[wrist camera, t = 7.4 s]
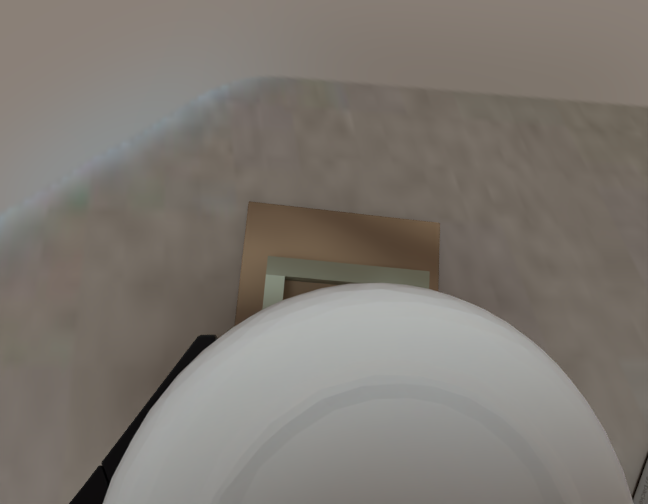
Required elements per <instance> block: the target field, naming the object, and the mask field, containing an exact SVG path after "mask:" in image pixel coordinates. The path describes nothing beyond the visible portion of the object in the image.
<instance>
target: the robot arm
mask: <svg viewBox="0 0 648 504" xmlns="http://www.w3.org/2000/svg"><path fill="white" fill-rule="evenodd" d="M216 340H217V336H216V335H200V336H198V337H197V338H196V340H195V341H194V342H193V344H192V345H191V346H190V348H189V349H188V350H187V351H186V353H185V354H184V355H183V357H182V358H181V359H180V361H179V362H178V363H177V364H176V366H175V367H174V368H173V370H172V371H171V372H170V374H169V375H168V376H167V378H166V379H165V380H164V381H163V383H162V384H161V385H160V387H159V388H158V389H157V391H156V392H155V393H154V395H153V396H152V397H151V398H150V400H149V401H148V402H147V404H146V405H145V406H144V408H143V409H142V410H141V412H140V413H139V414H138V415H137V417H136V418H135V419H134V421H133V422H132V423H131V425H130V426H129V427H128V429H127V430H126V431H125V432H124V434H123V435H122V436H121V438H120V439H119V440H118V442H117V443H116V444H115V446H114V447H113V448H112V449H111V451H110V452H109V453H108V455H107V456H106V457H105V459H104V460H103V461H102V466H101V465H100V466H98V467H97V469H96V470H95V471H94V473H93V474H92V475H91V477H90V478H89V479H88V481H87V482H86V483H85V485H84V486H83V487H82V488H81V490H80V491H79V492H78V493H77V495H76V496H75V497H74V498H73V499H72V501H71V502H70V503H69V504H103V502H104V499H105V496H106V493H107V490H108V487H109V484H110V482H111V479H112V477H113V475H114V473H115V471H116V469H117V467H118V465H119V463H120V461H121V460H122V458H123V456H124V454H125V452H126V450H127V448H128V446H129V444H130V442H131V441H132V439H133V437H134V435H135V434H136V432H137V430H138V429H139V427H140V425H141V424H142V422H143V420H144V419H145V417H146V415H147V414H148V412H149V410H150V409H151V408H152V407H153V405H154V404H155V403H156V402H157V400H158V399H159V398H160V397H161V395H162V394H163V393H164V392H165V390H166V389H167V388H168V387H169V385H170V384H171V383H172V382H173V380H174V379H175V378H176V377H177V375H178V374H179V373H181V372H182V371H183V370H184V369H185V368H186V367H187V366H188V365H189V364H190V363H191V362H192V361H193V360H194V359H195V358H196V357H197V356H198V355H199V354H200V353H201V352H202V351H203V350H204V349H206V348H207V347H208V346H209V345H211V344H212V343H213V342H215V341H216Z"/></svg>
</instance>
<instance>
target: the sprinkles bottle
mask: <svg viewBox="0 0 648 504" xmlns="http://www.w3.org/2000/svg"><path fill="white" fill-rule="evenodd" d="M103 504H634V503H633V500H632V497H631V493H630V490H629V487H628V484H627V481H626V478H625V475H624V471H623V469H622V466H621V464H620V462H619V460H618V458H617V455H616V453H615V451H614V449H613V447H612V445H611V442H610V440H609V438H608V436H607V434H606V432H605V430H604V428H603V426H602V425H601V423H600V421H599V420H598V418H597V417H596V415H595V413H594V412H593V410H592V408H591V407H590V405H589V403H588V402H587V400H586V399H585V398H584V397H583V395H582V394H581V393H580V391H579V390H578V389H577V387H576V386H575V385H574V384H573V382H572V381H571V380H570V379H569V377H568V376H567V375H566V374H565V373H564V371H563V370H562V369H561V368H560V367H559V366H558V364H557V363H556V362H555V361H554V360H553V359H552V358H550V357H549V356H548V355H547V354H546V352H544V351H543V350H542V349H541V348H540V347H539V346H537V345H536V344H535V343H534V342H533V341H532V340H530V339H529V338H528V337H526V336H525V335H524V334H522V333H521V332H520V331H518V330H517V329H516V328H514V327H513V326H511V325H510V324H509V323H507V322H506V321H504V320H502V319H500V318H499V317H497V316H495V315H493V314H492V313H490V312H488V311H487V310H485V309H483V308H481V307H478V306H476V305H474V304H471V303H469V302H467V301H464V300H462V299H459V298H456V297H454V296H451V295H449V294H445V293H441V292H438V291H434V290H431V289H427V288H421V287H416V286H410V285H403V284H392V283H354V284H343V285H338V286H332V287H326V288H320V289H317V290H314V291H310V292H307V293H304V294H300V295H297V296H294V297H291V298H288V299H285V300H282V301H280V302H278V303H275V304H273V305H271V306H269V307H267V308H265V309H263V310H261V311H259V312H257V313H256V314H254V315H252V316H250V317H249V318H247V319H246V320H244V321H242V322H241V323H239V324H238V325H236V326H235V327H233V328H231V329H230V330H229V331H227V332H226V333H225V334H224V335H222V336H221V337H220V338H218V339H217V340H216V341H215V342H213V343H212V344H211V345H209V346H208V347H207V348H206V349H204V350H203V351H202V352H201V353H200V354H199V355H198V356H197V357H196V358H195V359H194V360H193V361H192V362H191V363H190V364H189V365H188V366H187V367H186V368H185V369H184V370H183V371H182V372H181V373H179V374H178V375H177V377H176V378H175V379H174V380H173V382H172V383H171V384H170V385H169V387H168V388H167V389H166V390H165V392H164V393H163V394H162V395H161V397H160V398H159V399H158V400H157V402H156V403H155V404H154V405H153V407H152V408H151V409H150V410H149V412H148V414H147V415H146V417H145V419H144V420H143V422H142V424H141V425H140V427H139V429H138V430H137V432H136V434H135V435H134V437H133V439H132V441H131V442H130V444H129V446H128V448H127V450H126V452H125V454H124V456H123V458H122V460H121V461H120V463H119V465H118V467H117V469H116V471H115V473H114V475H113V477H112V479H111V482H110V484H109V487H108V490H107V493H106V496H105V499H104V502H103Z"/></svg>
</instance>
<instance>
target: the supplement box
mask: <svg viewBox="0 0 648 504" xmlns="http://www.w3.org/2000/svg"><path fill="white" fill-rule="evenodd" d="M633 503H634V504H648V459H647V462H646V465H645V468H644V471H643V473H642V476H641V479H640V482H639V484H638V487H637V490H636V493H635V496H634V499H633Z"/></svg>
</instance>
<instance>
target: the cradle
mask: <svg viewBox="0 0 648 504" xmlns="http://www.w3.org/2000/svg"><path fill="white" fill-rule="evenodd" d="M439 238H440V223H435V222H426V221H417V220H409V219H400V218H391V217H382V216H373V215H364V214H355V213H346V212H337V211H328V210H320V209H311V208H302V207H293V206H284V205H275V204H266V203H257V202H249V204H248V213H247V221H246V230H245V239H244V248H243V256H242V265H241V274H240V282H239V291H238V300H237V309H236V317H235V326H236V325H238V324H239V323H241V322H242V321H244V320H246V319H247V318H249V317H250V316H252V315H254V314H256V313H257V312H259V311H261V310H263V309H265V308H267V307H269V306H271V305H273V304H275V303H278V302H280V301H282V300H285V299H288V298H291V297H294V296H297V295H300V294H304V293H307V292H310V291H314V290H317V289H320V288H326V287H332V286H338V285H343V284H354V283H392V284H403V285H410V286H416V287H421V288H427V289H431V290H434V291H438V279H439ZM235 326H234V327H235Z"/></svg>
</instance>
